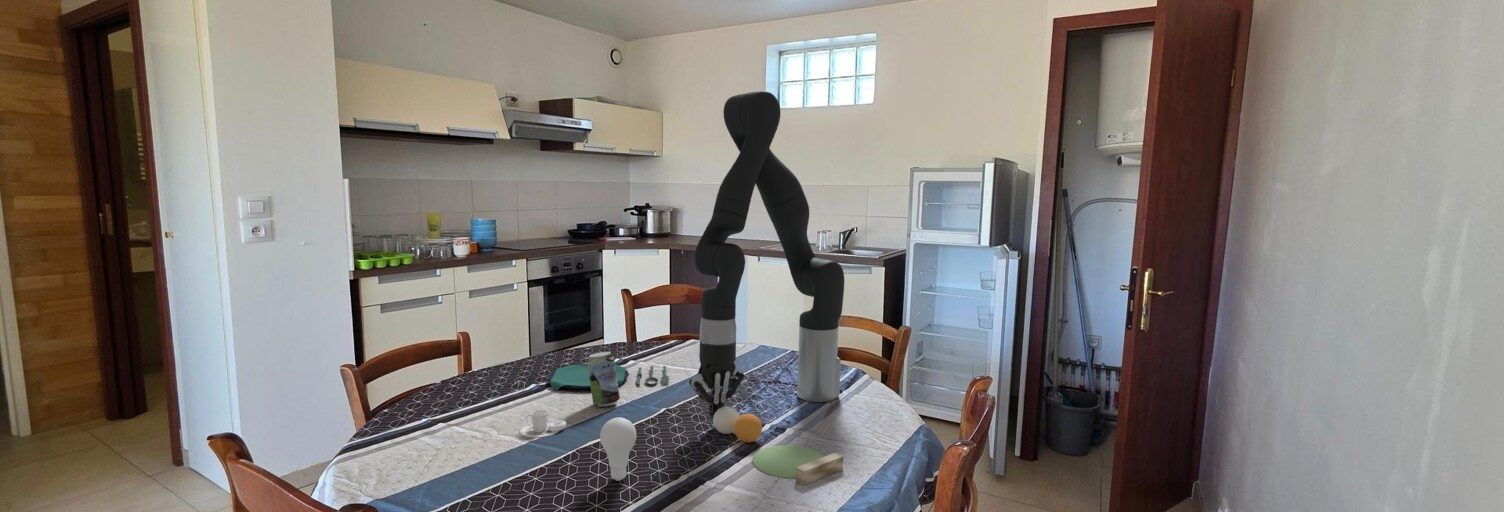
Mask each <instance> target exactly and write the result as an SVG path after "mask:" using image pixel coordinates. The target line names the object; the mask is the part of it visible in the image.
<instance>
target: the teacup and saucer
mask: <svg viewBox="0 0 1504 512" xmlns="http://www.w3.org/2000/svg"><path fill="white" fill-rule="evenodd" d="M528 417H531V423H530V422H529V420H528ZM525 421H526V423H527V424H528V425H526V426H523V427H521V429H520V430H519V434H520V435H521V436H523V437H526V438H543V437H544V438H545V437H549V436H552V435H555V434H557V433H559V432H560V431H562V430H564V429H565V428H566V426H567V422H566V421H565V420H556V421H553V422H548V411H547V410H535V411H532V412H531V414H530V413H529V414H527V415H526V417H525ZM531 428H532V429H533V431H534V432H535V433H543V432H545V431H547V429H548V431H550V432H549V433H545V434H540V435H536V434H535V435H534V434H529V433H527V430H528V429H531Z"/></svg>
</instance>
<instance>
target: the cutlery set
mask: <svg viewBox="0 0 1504 512" xmlns="http://www.w3.org/2000/svg"><path fill="white" fill-rule="evenodd" d="M615 367H616V374H617V382H618V386H620V385H622V384H623V383H624V381H625V380H627V379H628V377H629V376H630V373H629V371H628V370H627V369H626V367H625V366H621V365H618V364H615ZM662 367H663V369H662V370H663V374H662V376H661V377H660V381H661V384H662V386H664V385H665V386H666V385H667V386H668V385H669V381H670V376H667V375H668V374H667V368H666V367H667V366H666V365H663V366H662ZM649 368H650V377H646V378H645V380H644V382H645V383H646V384H647V385H650V386H651V385H656V384H657V383H658V381H659V379H658V378H656V377H655V376H654V365H653V366H652V365H651V366H650V367H649ZM653 376H654V377H653ZM642 377H643V375H642V367H638V372H637V374H636V386H638V387H639V386H640V385H641V378H642ZM548 381H549V382H550V386H551V387H552V389H553V390H556V391H558V390H559V389H560V388H567V389H576V390H577V389H582V390H583V389H584V390H585V389H586V390H587V389H591V386H590V379H589V372H588V364H587V363H586V364H572V365H567V366H563V367H559V368H556V370H555V371H553V372H551V373H550V374H549V375H548ZM649 382H654V383H649Z"/></svg>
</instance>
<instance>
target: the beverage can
mask: <svg viewBox="0 0 1504 512" xmlns="http://www.w3.org/2000/svg"><path fill="white" fill-rule="evenodd" d="M615 361H616V359H615V357H614V355H613V354H612V353H611V351H600V352H595V353H592V354H590V355H589V356H588V359H587V363H586V364H588V372H589V379H590V386H591V388H590V391H591V399H592V404H594V405H596V406H597V407H599V408H600V407H601V408H602V407H608V406H612V405H615V404H616V403H617V402H618V401H619V400H620V391H619V385H618V382H617V374H616V367H615V365H616V362H615Z"/></svg>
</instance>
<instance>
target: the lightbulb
mask: <svg viewBox="0 0 1504 512" xmlns="http://www.w3.org/2000/svg"><path fill="white" fill-rule="evenodd" d="M636 439H637V429H636V427H635V425H634V424H633V422H631V420H629V419H627V418H624V417H619V416H618V417H614V418H611V419H609V420H608V421H606V423H604V425H603V426H602V428H601V430H600V434H599V440H600V444H601V446H602V448H603V449H604V451H605V453H606V455H607V458H608V466H609V467H610V477H611V479H613V480H615V481H617V482H619V481H622V480H623V479H625V478H626V476H627V466H628V464H629V456H630V453H631V451H632V449H633V447H634V445H635V443H636V441H637V440H636Z"/></svg>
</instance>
